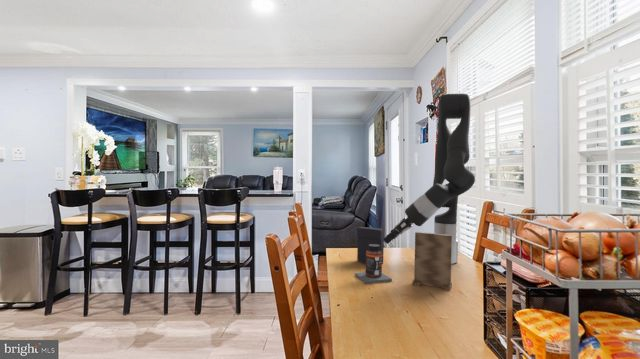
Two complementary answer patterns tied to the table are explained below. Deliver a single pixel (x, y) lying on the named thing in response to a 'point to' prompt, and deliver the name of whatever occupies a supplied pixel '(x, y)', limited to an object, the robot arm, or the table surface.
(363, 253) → the dark gray upright block
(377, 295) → the table surface
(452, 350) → the table surface
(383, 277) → the pad
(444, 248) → the screen
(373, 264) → the supplement bottle
